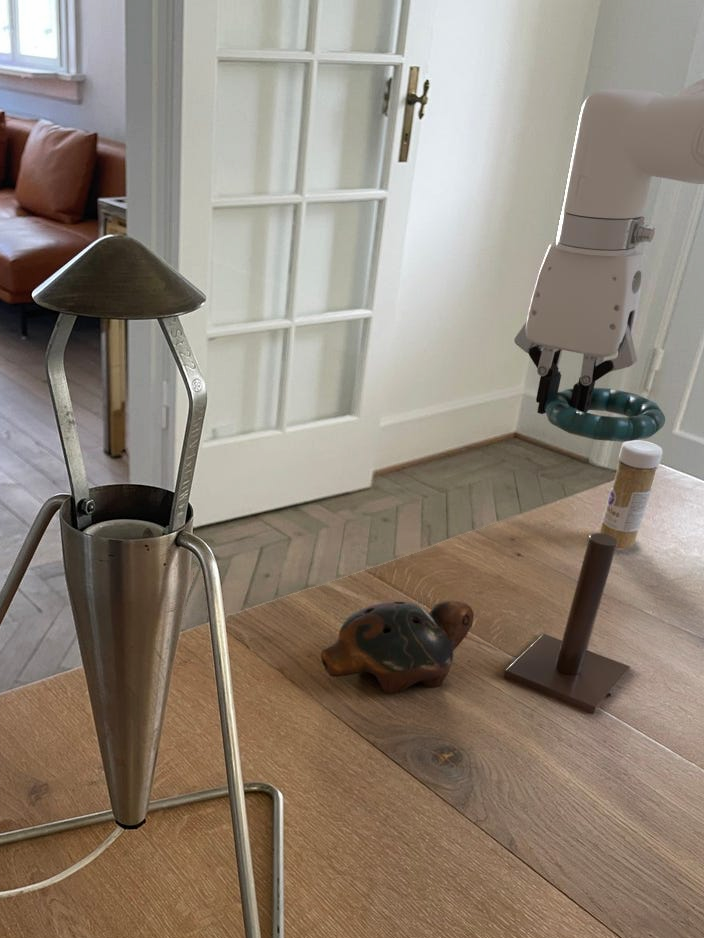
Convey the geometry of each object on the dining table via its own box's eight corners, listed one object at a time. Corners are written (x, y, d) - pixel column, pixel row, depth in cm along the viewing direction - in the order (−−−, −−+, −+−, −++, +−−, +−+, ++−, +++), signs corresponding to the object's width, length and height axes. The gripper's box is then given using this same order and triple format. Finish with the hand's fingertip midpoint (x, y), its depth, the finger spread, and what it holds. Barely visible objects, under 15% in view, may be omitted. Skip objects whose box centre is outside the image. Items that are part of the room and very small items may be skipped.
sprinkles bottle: (587, 542, 121) (614, 439, 114) (619, 539, 122) (648, 437, 115) (608, 558, 117) (637, 454, 110) (641, 555, 118) (672, 451, 111)
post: (626, 678, 95) (670, 538, 87) (591, 720, 90) (635, 573, 81) (540, 645, 100) (574, 508, 92) (502, 682, 94) (535, 540, 86)
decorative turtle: (488, 688, 93) (501, 620, 88) (348, 728, 89) (354, 659, 84) (434, 632, 101) (444, 568, 96) (302, 667, 96) (306, 601, 91)
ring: (675, 422, 103) (681, 400, 102) (637, 453, 96) (643, 430, 94) (569, 398, 110) (574, 377, 108) (525, 425, 102) (529, 403, 101)
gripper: (694, 239, 93) (647, 422, 103) (536, 219, 102) (506, 390, 112) (668, 250, 89) (621, 441, 98) (504, 228, 97) (476, 406, 107)
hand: (560, 412), depth 105 cm, fingers closed on ring, 2 cm apart
